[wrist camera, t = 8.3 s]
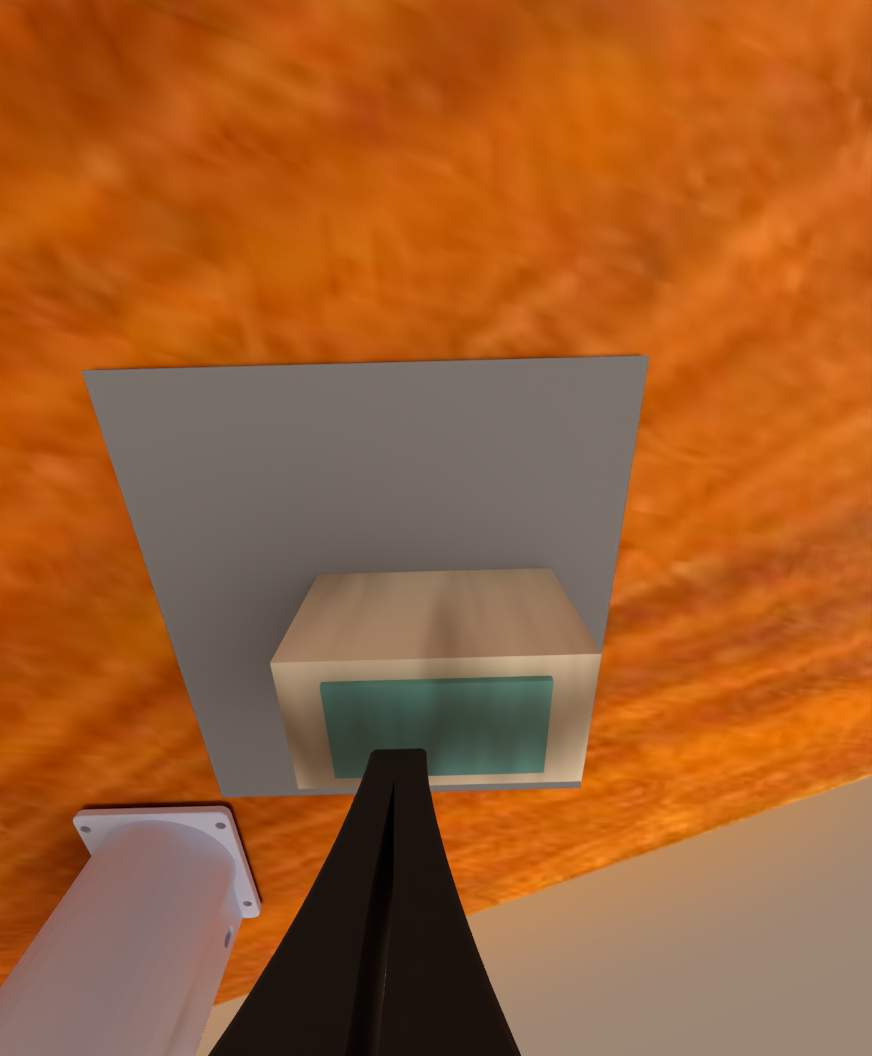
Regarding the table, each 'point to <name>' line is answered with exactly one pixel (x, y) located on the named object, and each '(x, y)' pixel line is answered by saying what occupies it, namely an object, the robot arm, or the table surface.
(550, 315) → the table surface
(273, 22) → the table surface
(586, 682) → the maple block
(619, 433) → the rubber mat
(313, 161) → the table surface
